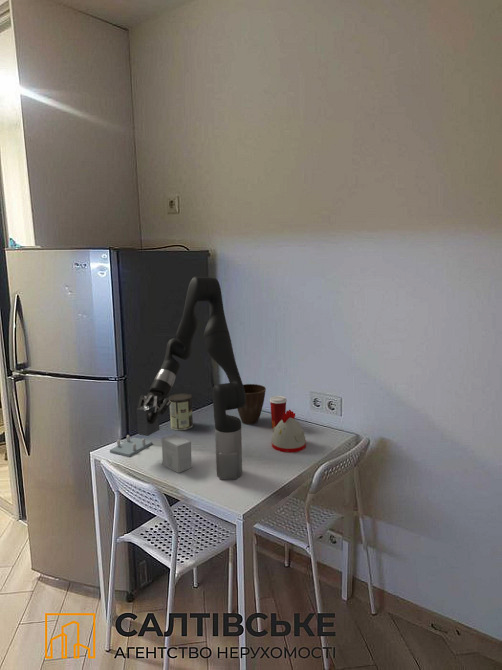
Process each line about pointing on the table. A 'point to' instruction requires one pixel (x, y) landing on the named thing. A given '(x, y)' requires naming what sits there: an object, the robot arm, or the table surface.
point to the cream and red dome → (288, 434)
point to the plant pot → (252, 403)
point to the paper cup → (277, 409)
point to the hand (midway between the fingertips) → (145, 421)
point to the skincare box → (176, 453)
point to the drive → (146, 420)
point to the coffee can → (181, 411)
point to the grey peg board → (130, 446)
